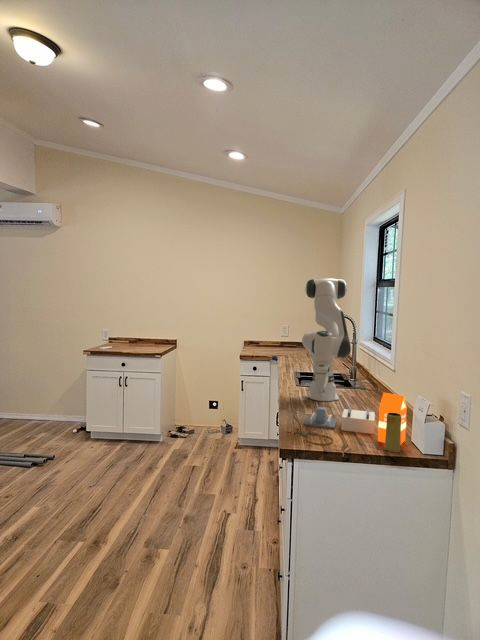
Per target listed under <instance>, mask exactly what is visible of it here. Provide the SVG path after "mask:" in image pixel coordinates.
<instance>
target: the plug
mask: <svg viewBox="0 0 480 640" xmlns="http://www.w3.org/2000/svg"><path fill="white" fill-rule="evenodd" d="M315 416H316V422H324V423H325V421H326V417H327V407H322V406H317V407H316V411H315Z"/></svg>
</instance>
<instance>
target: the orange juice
mask: <svg viewBox="0 0 480 640" xmlns="http://www.w3.org/2000/svg"><path fill="white" fill-rule="evenodd" d="M407 409H408V407H407V404H406V397H405V395H402V394H401V395H400V394H393V393H389V392H383V394H382V397H381V401H380V404H379V410H378V412H379V413H378V429H377V430H378V431H377V432H378V433H377V434H378V436H377V441H378V442H379V443H384V444H385V437H386V425H387V413H389V412H394V413H399V414H401V445H403V444H404V443H405V442H406V433H407V432H406V430H407V411H408V410H407ZM404 441H405V442H404ZM403 442H404V443H403ZM402 443H403V444H402Z"/></svg>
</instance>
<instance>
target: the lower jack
mask: <svg viewBox="0 0 480 640" xmlns="http://www.w3.org/2000/svg"><path fill="white" fill-rule="evenodd" d="M337 423H338V417H337V418H336V417H333V415H332V414H329V415H328V417H327V416H326V421H325V423H324V422H316V412H314V411H313V412H312V414H311V415H307V416H306V419H305V421H304V422H303V426H305V427H311V428H314V427H315V428H322V429H330V430H335V429H336V427H337Z"/></svg>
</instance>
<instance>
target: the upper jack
mask: <svg viewBox="0 0 480 640" xmlns="http://www.w3.org/2000/svg"><path fill="white" fill-rule="evenodd" d="M375 413H376V412H375V411H370V407H366V410H358V409H352V405H349V406H348V408H344V409H343V412H342V415H341V424H340V425H341V427H340V428H341V431H347V432H354V433H362V434H370V435H375V424H376V422H375V421H376V420H375V419H376V417H375V416H376V414H375Z"/></svg>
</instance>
